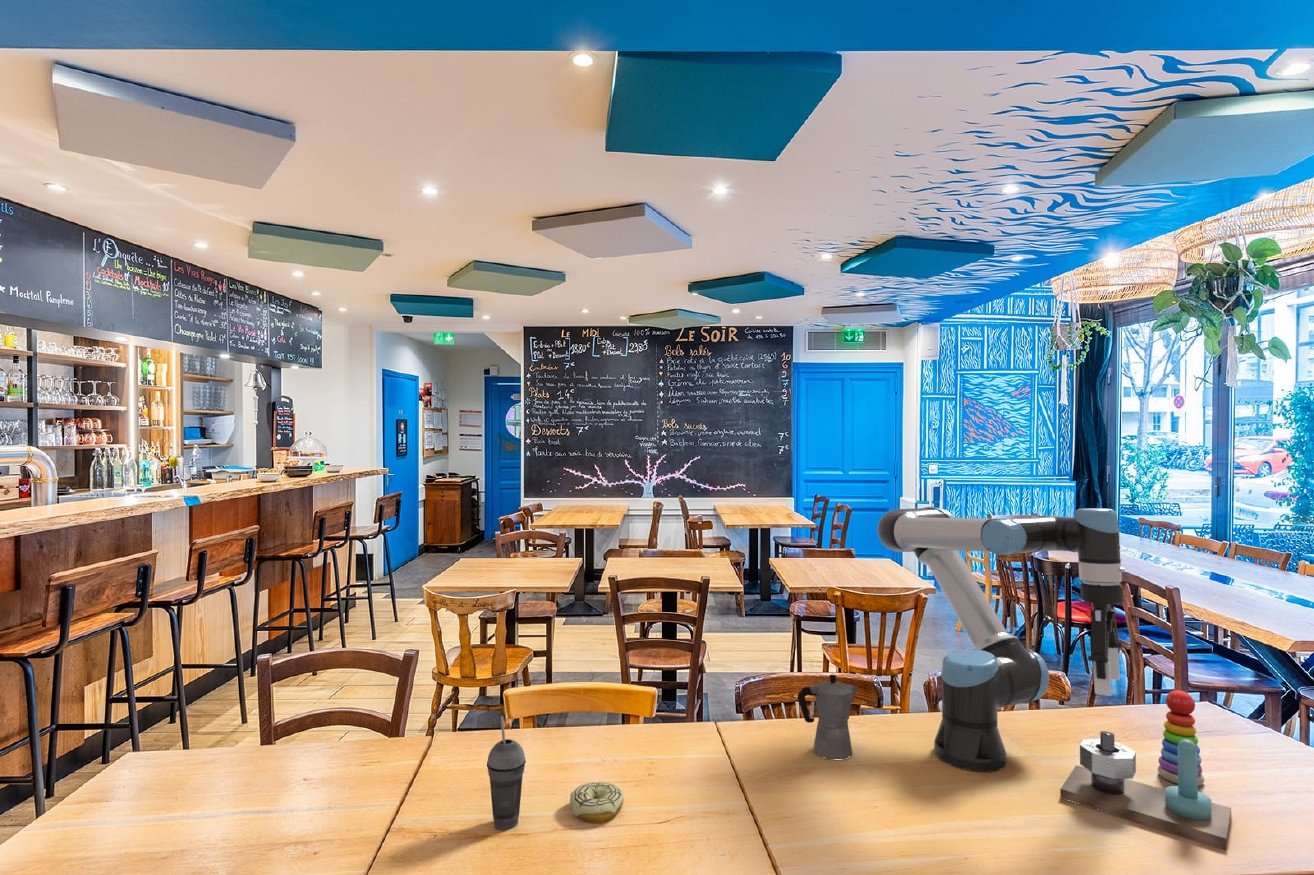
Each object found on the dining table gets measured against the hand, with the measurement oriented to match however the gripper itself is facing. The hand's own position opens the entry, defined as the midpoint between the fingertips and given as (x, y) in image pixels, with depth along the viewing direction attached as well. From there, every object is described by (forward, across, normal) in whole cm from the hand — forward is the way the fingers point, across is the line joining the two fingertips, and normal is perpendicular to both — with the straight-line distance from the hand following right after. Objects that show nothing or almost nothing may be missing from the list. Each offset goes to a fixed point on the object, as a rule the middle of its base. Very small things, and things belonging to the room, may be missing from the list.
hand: (1107, 686), depth 142 cm
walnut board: (+22, -2, -5) cm, 23 cm away
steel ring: (+16, -2, +1) cm, 16 cm away
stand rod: (+20, -2, +1) cm, 20 cm away
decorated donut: (+20, -72, +78) cm, 108 cm away
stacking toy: (+22, +18, -10) cm, 30 cm away
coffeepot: (+20, -19, +54) cm, 61 cm away
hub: (+21, -2, -12) cm, 24 cm away
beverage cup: (+20, -86, +87) cm, 125 cm away
